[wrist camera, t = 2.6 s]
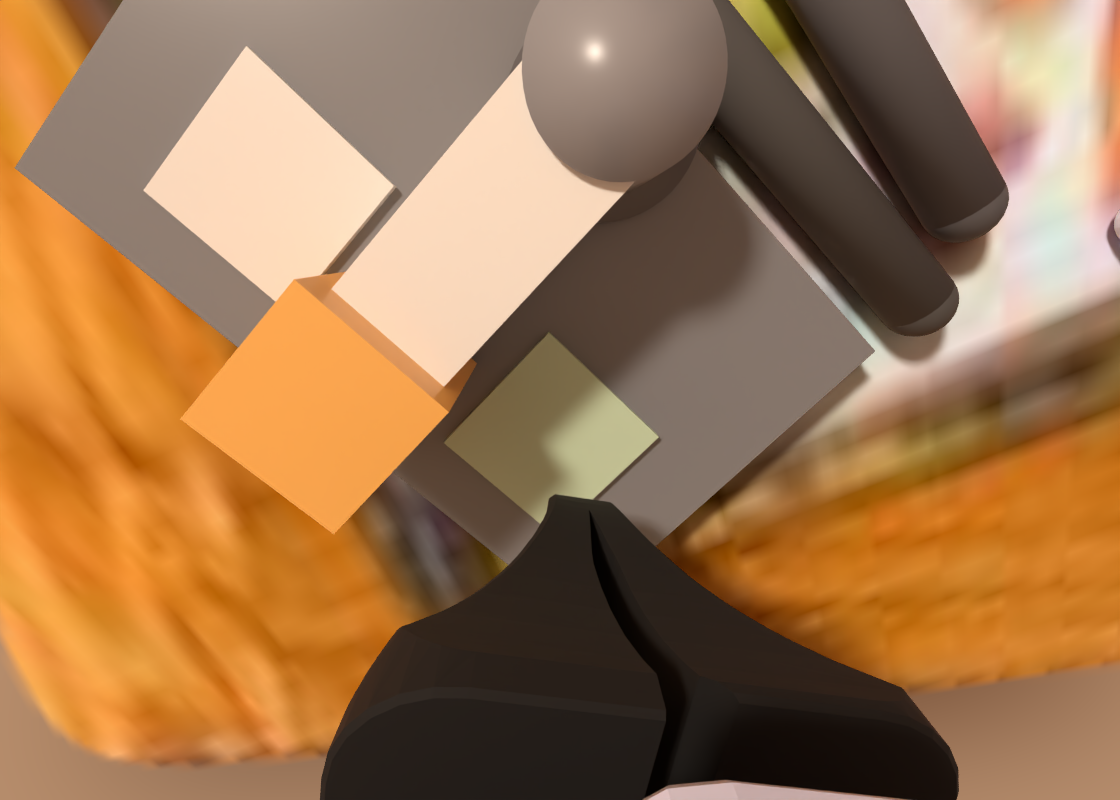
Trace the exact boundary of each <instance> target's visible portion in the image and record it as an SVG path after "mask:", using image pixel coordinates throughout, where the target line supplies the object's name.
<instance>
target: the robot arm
mask: <svg viewBox="0 0 1120 800" xmlns="http://www.w3.org/2000/svg"><path fill="white" fill-rule="evenodd" d="M1114 229H1115V232H1116V235H1117V236H1118V238H1119V239H1120V210H1119V211H1118V213H1117V215H1116V217H1115V220H1114ZM958 785H959V784H958V767H957V764H956V762H955V759H954V757H953V754H952V752H951V750H950V747H949V746H948V745H947V744H946V742H945V741H944V740H943V739H942V737H941V736H940V735H939V734H938V732H937V731H936V730H935V729H934V727H933V726H932V725H931V724H930V722H929V721H928V720H927V718H926V717H925V716H924V715H923V714H922V712H921V711H920V710H919V709H918V707H917V706H916V705H915V703H914V702H913V701H912V700H911V698H910V697H909V696H908V695H907V693H906V692H905V691H904V690H903V689H902V688H901V687H898V686H896V685H893V684H891V683H888V682H886V681H883V680H881V679H878V678H876V677H873V676H871V675H868V674H866V673H863V672H861V671H858V670H856V669H853V668H851V667H848V666H846V665H843V664H841V663H838V662H836V661H833V660H831V659H829V658H826V657H824V656H822V655H820V654H818V653H816V652H814V651H812V650H810V649H808V648H805V647H803V646H801V645H799V644H797V643H795V642H793V641H791V640H789V639H787V638H785V637H783V636H781V635H780V634H778V633H776V632H774V631H772V630H770V629H768V628H766V627H765V626H763V625H761V624H760V623H758V622H756V621H755V620H753V619H751V618H749V617H748V616H746V615H744V614H743V613H741V612H739V611H738V610H736V609H735V608H733V607H731V606H730V605H728V604H727V603H725V602H724V601H722V600H721V599H719V598H718V597H717V596H715V595H714V594H712V593H711V592H710V591H708V590H707V589H705V588H704V587H703V586H701V585H700V584H698V583H697V582H696V581H695V580H693V579H692V578H691V577H690V576H688V575H687V574H686V573H685V572H683V571H682V570H681V569H680V568H679V567H678V566H676V565H675V564H674V563H673V562H672V561H671V560H669V559H668V558H667V557H666V556H665V555H664V554H663V553H662V552H661V551H660V550H659V549H657V548H656V547H655V546H654V545H653V544H652V543H651V542H650V541H649V540H648V539H647V538H646V537H645V536H644V535H643V534H642V533H641V532H640V531H639V530H638V529H637V528H636V527H635V526H634V525H633V524H632V523H631V522H630V520H629V519H628V518H627V517H626V516H625V515H624V514H623V513H622V512H621V511H620V510H619V509H618V508H617V507H616V506H615V505H614V504H612V503H611V502H606V501H599V500H592V499H585V498H578V497H572V496H565V495H558V494H555V495H553V496H552V497H550V498H549V501H548V506H547V512H546V514H545V517H544V519H543V520H542V522H541V524H540V525H539V527H538V529H537V530H536V532H535V534H534V535H533V537H532V538H531V539H530V540H529V542H528V543H527V544H526V546H525V547H524V548H523V550H522V551H521V552H520V553H519V554H518V556H517V557H516V558H515V559H514V560H513V561H512V562H511V563H510V564H509V565H508V566H507V567H506V568H505V569H504V570H503V571H502V572H501V573H500V574H499V575H497V576H496V577H495V578H494V579H492V580H491V581H490V582H489V583H488V584H486V585H485V586H484V587H483V588H481V589H480V590H478V591H477V592H476V593H474V594H473V595H471V596H469V597H468V598H466V599H464V600H463V601H461V602H459V603H458V604H456V605H454V606H452V607H450V608H448V609H446V610H444V611H442V612H439V613H437V614H434V615H431V616H429V617H426V618H424V619H421V620H419V621H416V622H414V623H411V624H408V625H405V626H402V627H401V628H399V629H398V630H397V631H396V632H395V634H394V635H393V636H392V638H391V639H390V640H389V642H388V643H387V644H386V646H385V647H384V649H383V650H382V651H381V653H380V654H379V656H378V657H377V659H376V660H375V662H374V663H373V665H372V666H371V668H370V669H369V671H368V672H367V674H366V675H365V677H364V679H363V680H362V682H361V684H360V686H359V687H358V689H357V690H356V692H355V694H354V696H353V698H352V699H351V701H350V703H349V705H348V707H347V709H346V711H345V714H344V716H343V718H342V720H341V723H340V725H339V727H338V730H337V732H336V734H335V737H334V739H333V741H332V744H331V746H330V748H329V751H328V754H327V758H326V762H325V766H324V770H323V774H322V779H321V793H320V800H956V799H957V796H958V792H959V788H958V787H959V786H958Z"/></svg>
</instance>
